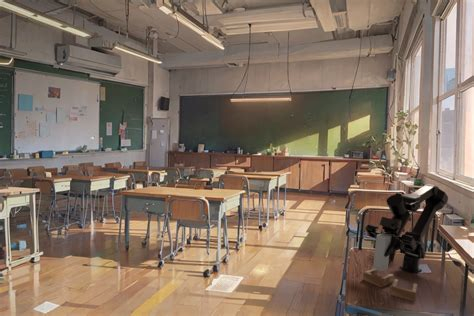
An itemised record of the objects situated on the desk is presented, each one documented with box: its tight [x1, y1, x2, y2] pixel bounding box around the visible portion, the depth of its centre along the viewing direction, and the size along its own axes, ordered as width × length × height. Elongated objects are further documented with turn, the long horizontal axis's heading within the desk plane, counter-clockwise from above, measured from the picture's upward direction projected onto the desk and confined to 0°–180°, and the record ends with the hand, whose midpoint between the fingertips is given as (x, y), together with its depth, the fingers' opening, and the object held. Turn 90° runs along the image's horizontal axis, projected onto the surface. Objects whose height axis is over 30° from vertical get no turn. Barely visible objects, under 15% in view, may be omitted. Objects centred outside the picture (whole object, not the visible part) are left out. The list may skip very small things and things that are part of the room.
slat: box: [372, 233, 392, 272], centre depth 147 cm, size 4×4×13 cm
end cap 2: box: [390, 278, 418, 302], centre depth 138 cm, size 8×8×4 cm
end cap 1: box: [362, 268, 394, 288], centre depth 148 cm, size 8×8×4 cm
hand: (380, 254), depth 146 cm, fingers closed on slat, 3 cm apart
